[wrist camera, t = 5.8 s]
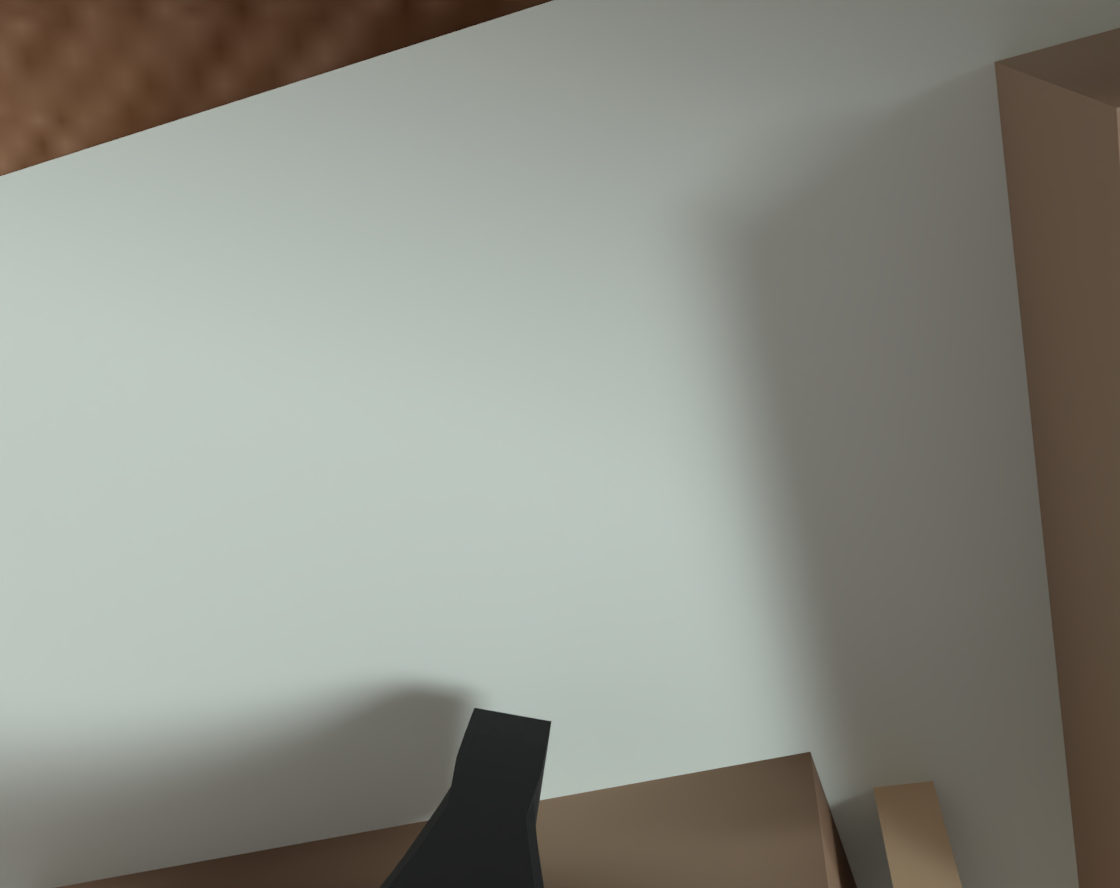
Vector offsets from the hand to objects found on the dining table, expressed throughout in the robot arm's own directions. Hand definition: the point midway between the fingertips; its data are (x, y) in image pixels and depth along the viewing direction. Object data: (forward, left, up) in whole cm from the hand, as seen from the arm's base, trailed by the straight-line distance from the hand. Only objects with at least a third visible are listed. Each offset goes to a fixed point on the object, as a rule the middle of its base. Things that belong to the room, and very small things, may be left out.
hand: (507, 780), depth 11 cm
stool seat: (-1, +1, -2) cm, 2 cm away
